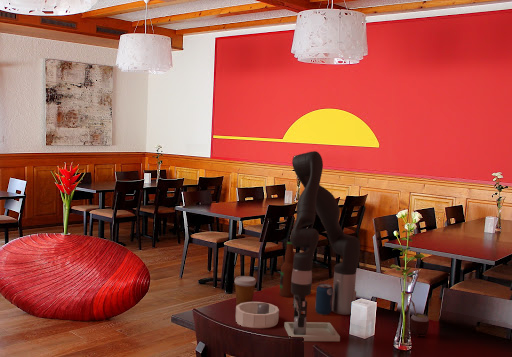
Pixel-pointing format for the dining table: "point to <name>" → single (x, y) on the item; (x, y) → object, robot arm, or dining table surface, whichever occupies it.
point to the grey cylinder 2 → (299, 329)
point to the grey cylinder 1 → (263, 308)
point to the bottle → (287, 272)
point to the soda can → (324, 299)
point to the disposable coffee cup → (244, 289)
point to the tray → (315, 331)
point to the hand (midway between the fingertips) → (298, 323)
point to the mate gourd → (419, 323)
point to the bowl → (256, 315)
